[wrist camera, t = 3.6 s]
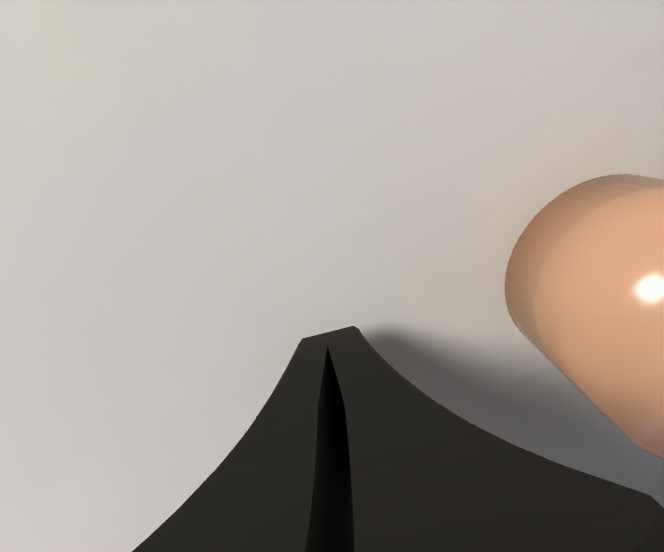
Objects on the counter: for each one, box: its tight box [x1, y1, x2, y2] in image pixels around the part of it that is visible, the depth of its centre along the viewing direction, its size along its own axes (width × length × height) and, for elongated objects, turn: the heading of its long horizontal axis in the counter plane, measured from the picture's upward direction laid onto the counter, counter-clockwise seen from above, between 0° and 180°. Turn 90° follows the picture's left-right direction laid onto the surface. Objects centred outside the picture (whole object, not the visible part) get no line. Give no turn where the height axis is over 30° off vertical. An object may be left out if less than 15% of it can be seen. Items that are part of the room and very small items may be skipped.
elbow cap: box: [505, 174, 664, 458], centre depth 9 cm, size 5×5×4 cm
